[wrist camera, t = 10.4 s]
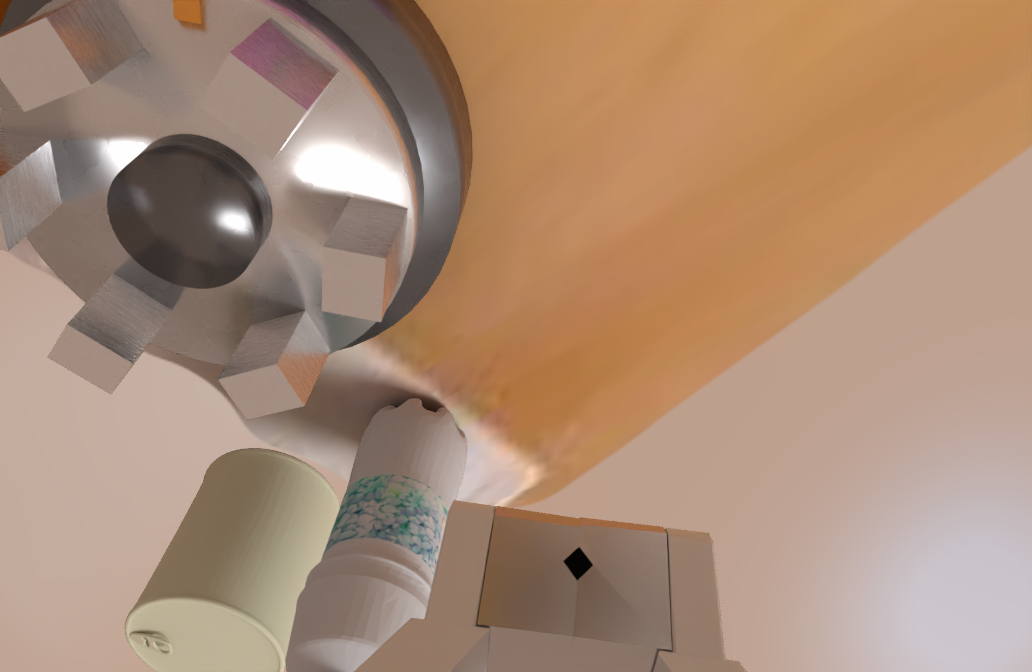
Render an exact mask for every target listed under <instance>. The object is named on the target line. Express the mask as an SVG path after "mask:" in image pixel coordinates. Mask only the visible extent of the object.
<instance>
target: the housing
mask: <svg viewBox="0 0 1032 672" xmlns="http://www.w3.org/2000/svg"><path fill="white" fill-rule="evenodd" d="M51 1H53V0H12V1H11V3H10V5H9V6H8V9H7V11H6V14H5V17H4V19H3V22H2V25H1V27H0V36H1V35H3V34H4V33H6V32H8V31H10V30H12V29H14V28H16V27H18V26H20V25H22V24H23V23H25V22H26V21H27V20H28V19H29V18H30V17H32V16H33V15H34V14H35V13H36V12H37V11H39V10H40V9H41V8H42V7H43V6H45V5H46V4H48V3H49V2H51ZM304 1H305V2H307V3H308V4H310V5H311V6H312V7H314V8H315V9H317V10H318V11H319V12H321V13H322V14H324V15H325V16H326V17H328V18H329V19H330V20H331V21H333V22H334V23H335V24H336V25H337V26H338V27H339V28H340V29H342V30H343V31H344V32H345V33H346V34H347V35H348V36H349V37H350V38H352V39H353V40H354V42H355V43H356V44H357V45H358V46H359V47H360V48H361V49H362V50H363V52H364V53H365V54H366V55H367V56H368V57H369V58H370V59H371V61H372V62H373V63H374V64H375V66H376V67H377V68H378V70H379V71H380V73H381V74H382V76H383V77H384V78H385V80H386V81H387V83H388V84H389V85H390V87H391V89H392V90H393V92H394V94H395V96H396V98H397V100H398V101H399V103H400V105H401V107H402V109H403V111H404V112H405V115H406V117H407V120H408V122H409V125H410V127H411V130H412V132H413V135H414V138H415V141H416V145H417V149H418V153H419V157H420V160H421V164H422V173H423V182H424V214H423V219H422V225H421V231H420V236H419V239H418V241H417V244H416V247H415V250H414V253H413V256H412V258H411V261H410V264H409V266H408V269H407V271H406V274H405V276H404V279H403V281H402V284H401V286H400V288H399V290H398V291H397V293H396V295H395V297H394V299H393V301H392V303H391V304H390V306H389V307H388V308H387V309H386V312H385V314H384V316H383V319H382V321H381V322H376V323H375V324H374V325H373V326H372V327H370V328H369V329H368V330H367V331H366V332H365V333H364V334H363V335H362V336H360V337H359V338H357V339H356V340H354V341H353V342H351V343H350V344H348V345H347V346H345V347H343V348H341V349H345V348H348V347H352V346H354V345H357V344H359V343H361V342H364V341H366V340H368V339H371V338H373V337H375V336H376V335H378V334H380V333H381V332H383V331H385V330H386V329H388V328H390V327H391V326H393V325H394V324H395V323H397V322H398V321H399V320H400V319H401V318H403V317H404V316H405V315H406V314H408V313H409V312H410V311H411V310H412V309H413V308H414V307H415V306H416V305H417V303H418V302H419V301H420V300H421V299H422V298H423V297H424V296H425V294H426V293H427V292H428V290H429V289H430V287H431V286H432V284H433V283H434V281H435V279H436V278H437V276H438V275H439V273H440V271H441V269H442V267H443V264H444V262H445V260H446V257H447V255H448V253H449V251H450V248H451V245H452V242H453V239H454V236H455V233H456V230H457V227H458V224H459V221H460V218H461V215H462V212H463V209H464V205H465V201H466V197H467V193H468V190H469V186H470V178H471V169H472V131H471V125H470V119H469V113H468V107H467V103H466V99H465V96H464V93H463V90H462V86H461V83H460V80H459V76H458V74H457V72H456V70H455V67H454V65H453V63H452V61H451V58H450V56H449V54H448V52H447V49H446V47H445V45H444V44H443V42H442V40H441V39H440V37H439V35H438V34H437V32H436V30H435V29H434V27H433V25H432V24H431V22H430V20H429V19H428V18H427V16H426V15H425V14H424V13H423V11H422V10H421V9H420V7H419V6H418V5H417V3H416V2H415V1H414V0H304ZM341 349H339V350H341ZM337 351H338V350H337Z"/></svg>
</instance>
